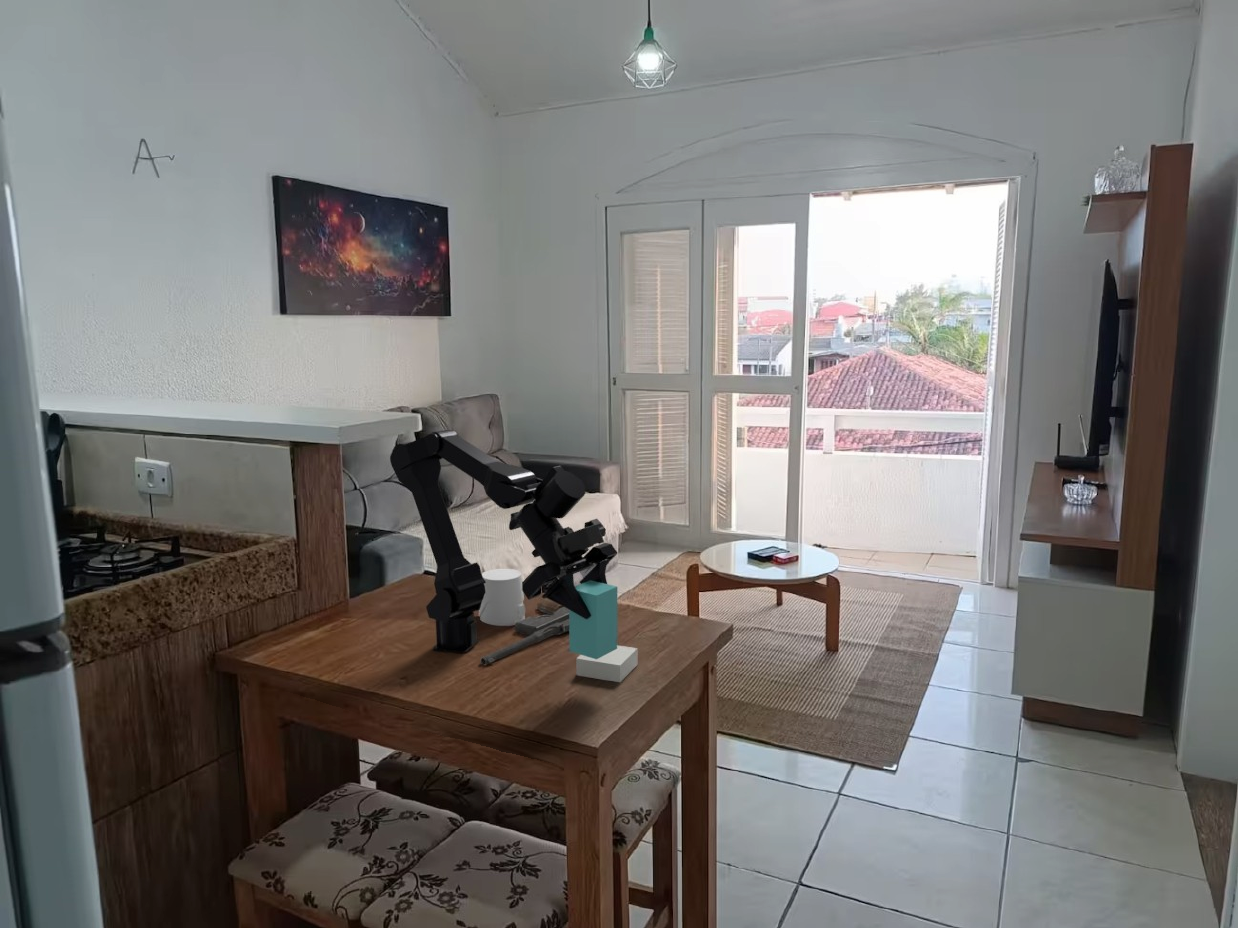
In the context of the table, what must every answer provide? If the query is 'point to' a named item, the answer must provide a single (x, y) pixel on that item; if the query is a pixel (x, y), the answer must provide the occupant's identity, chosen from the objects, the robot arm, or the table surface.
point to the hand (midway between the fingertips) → (600, 612)
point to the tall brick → (595, 621)
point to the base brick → (609, 664)
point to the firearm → (535, 628)
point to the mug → (502, 598)
